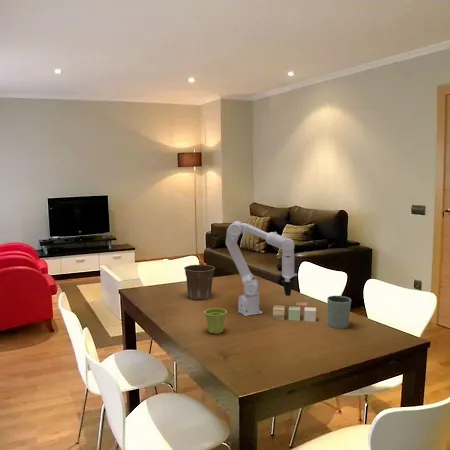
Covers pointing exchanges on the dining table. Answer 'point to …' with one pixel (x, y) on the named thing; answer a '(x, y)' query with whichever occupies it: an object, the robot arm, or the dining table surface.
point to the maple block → (279, 312)
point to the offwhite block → (310, 314)
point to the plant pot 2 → (215, 319)
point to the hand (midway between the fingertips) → (288, 293)
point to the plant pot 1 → (199, 281)
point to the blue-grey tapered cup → (338, 311)
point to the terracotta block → (301, 307)
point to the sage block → (294, 313)
